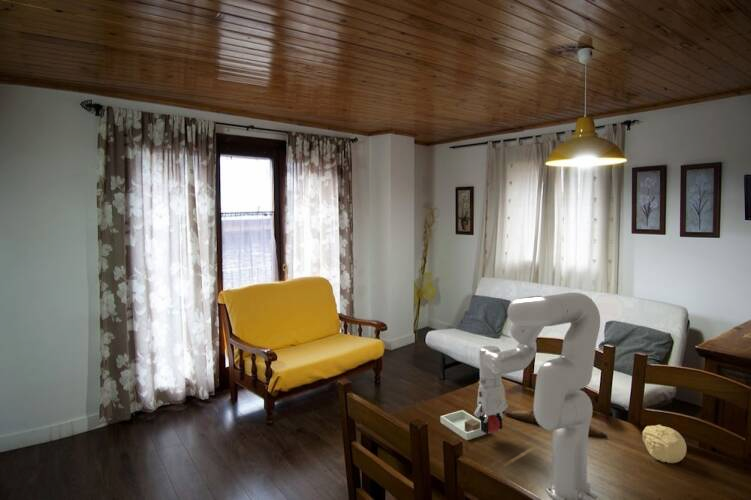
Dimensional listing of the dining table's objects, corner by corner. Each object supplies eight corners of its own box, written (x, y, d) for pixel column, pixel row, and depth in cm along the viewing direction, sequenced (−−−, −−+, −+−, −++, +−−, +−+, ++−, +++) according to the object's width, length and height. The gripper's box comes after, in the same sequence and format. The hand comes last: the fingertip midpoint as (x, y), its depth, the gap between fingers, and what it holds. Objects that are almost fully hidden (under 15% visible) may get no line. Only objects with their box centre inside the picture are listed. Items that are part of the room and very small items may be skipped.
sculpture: (636, 452, 157) (637, 422, 156) (661, 446, 161) (662, 416, 160) (667, 470, 146) (669, 438, 145) (693, 462, 150) (695, 431, 149)
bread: (502, 418, 184) (502, 406, 184) (505, 413, 188) (505, 401, 188) (607, 442, 164) (607, 428, 164) (608, 436, 169) (608, 423, 168)
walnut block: (479, 432, 170) (480, 422, 170) (473, 436, 168) (473, 425, 168) (471, 428, 174) (471, 418, 173) (464, 432, 171) (464, 421, 171)
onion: (481, 435, 164) (481, 413, 163) (485, 429, 169) (485, 407, 168) (498, 438, 161) (497, 416, 161) (501, 431, 166) (501, 410, 166)
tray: (489, 434, 170) (489, 426, 170) (466, 442, 165) (466, 433, 165) (462, 417, 184) (462, 409, 184) (440, 424, 179) (440, 416, 179)
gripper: (479, 388, 157) (480, 439, 158) (515, 379, 165) (516, 428, 166) (465, 382, 163) (466, 431, 164) (501, 373, 171) (501, 420, 172)
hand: (491, 429), depth 165 cm, fingers closed on onion, 5 cm apart
